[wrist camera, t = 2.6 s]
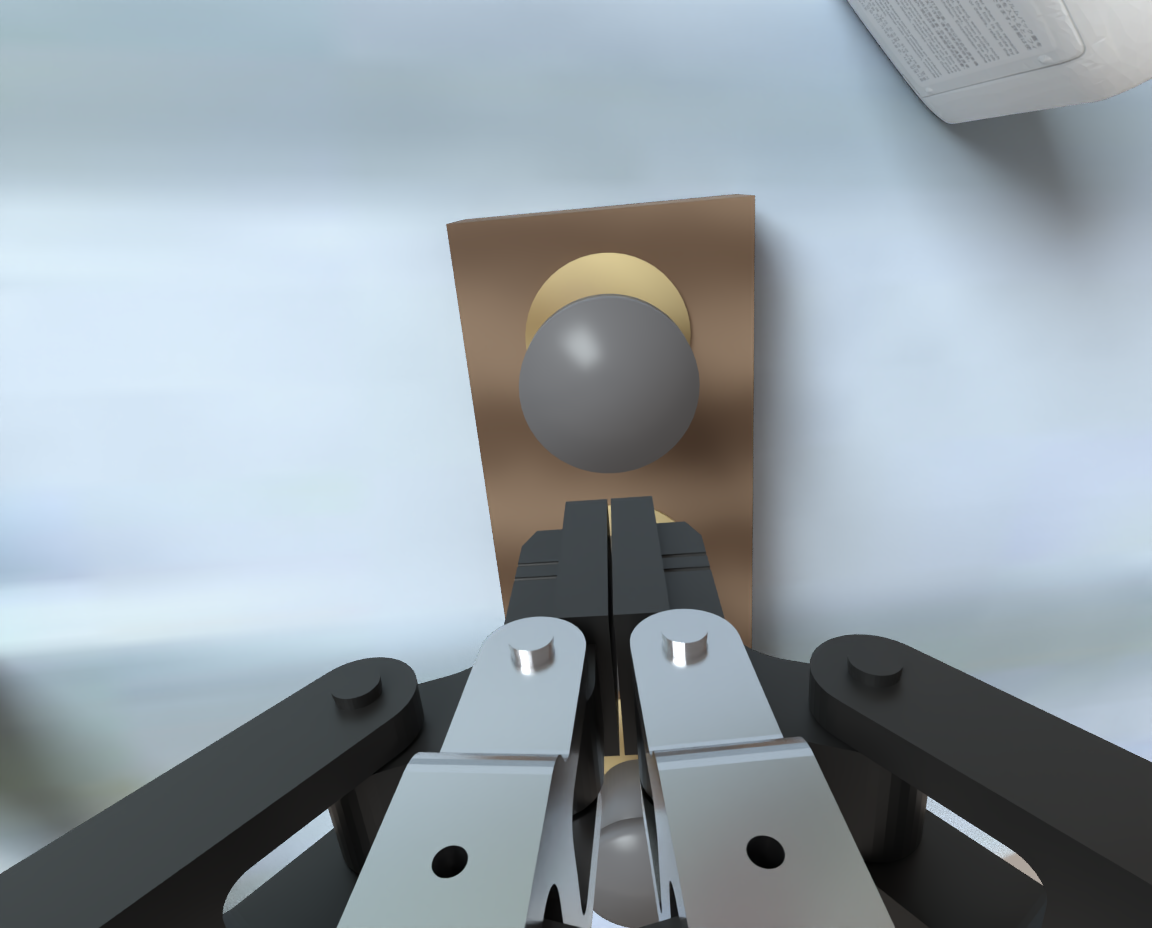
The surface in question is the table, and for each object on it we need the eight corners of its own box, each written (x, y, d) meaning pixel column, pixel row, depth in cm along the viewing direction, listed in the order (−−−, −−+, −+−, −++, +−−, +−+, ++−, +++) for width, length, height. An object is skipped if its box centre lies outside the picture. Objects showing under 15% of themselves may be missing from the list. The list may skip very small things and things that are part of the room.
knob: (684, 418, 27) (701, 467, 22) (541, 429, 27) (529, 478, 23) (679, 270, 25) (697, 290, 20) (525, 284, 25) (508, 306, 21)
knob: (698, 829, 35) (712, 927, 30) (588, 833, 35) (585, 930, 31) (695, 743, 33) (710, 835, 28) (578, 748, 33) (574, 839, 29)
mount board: (737, 757, 42) (751, 816, 38) (541, 765, 43) (535, 823, 39) (736, 194, 30) (755, 195, 26) (464, 219, 31) (445, 224, 27)
